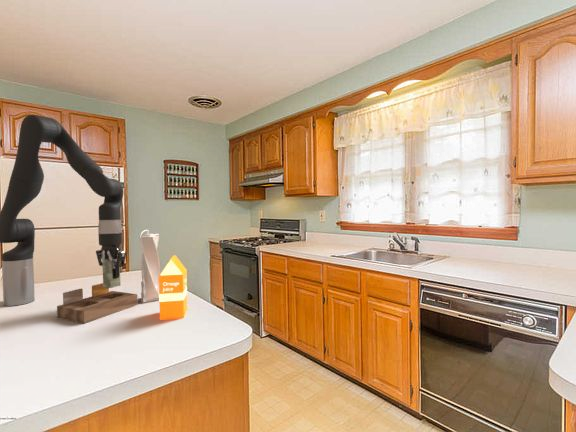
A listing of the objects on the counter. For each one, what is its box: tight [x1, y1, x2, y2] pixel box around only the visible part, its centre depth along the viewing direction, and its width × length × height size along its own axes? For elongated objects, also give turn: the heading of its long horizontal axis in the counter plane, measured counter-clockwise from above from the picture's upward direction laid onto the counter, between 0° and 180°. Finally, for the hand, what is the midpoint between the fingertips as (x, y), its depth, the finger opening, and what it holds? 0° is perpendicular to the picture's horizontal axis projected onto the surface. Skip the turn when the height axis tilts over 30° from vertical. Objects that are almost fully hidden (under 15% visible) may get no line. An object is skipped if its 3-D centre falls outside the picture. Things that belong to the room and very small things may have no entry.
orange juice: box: [158, 254, 188, 321], centre depth 103 cm, size 8×9×20 cm
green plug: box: [101, 259, 121, 289], centre depth 112 cm, size 4×4×10 cm
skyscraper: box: [137, 229, 161, 305], centre depth 121 cm, size 8×8×28 cm
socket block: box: [56, 282, 139, 324], centre depth 108 cm, size 14×20×8 cm
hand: (111, 277), depth 112 cm, fingers closed on green plug, 4 cm apart
